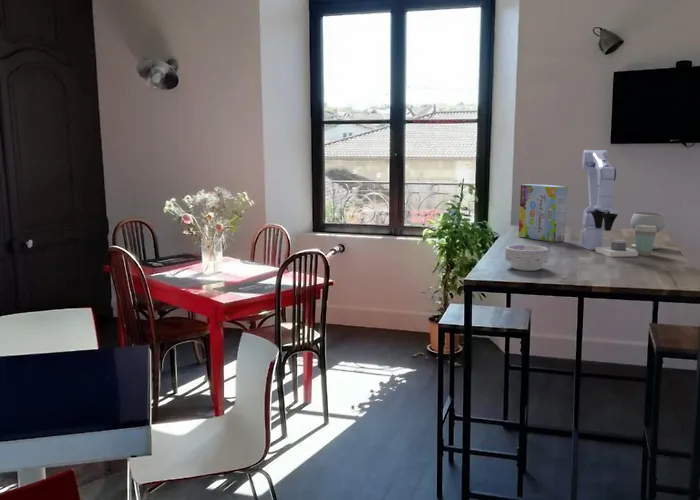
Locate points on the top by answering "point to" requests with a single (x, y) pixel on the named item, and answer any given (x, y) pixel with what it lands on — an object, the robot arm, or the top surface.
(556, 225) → the snack box
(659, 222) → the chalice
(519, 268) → the white round bowl
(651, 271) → the top surface
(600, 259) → the top surface
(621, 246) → the plug
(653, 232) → the coffee cup
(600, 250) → the socket plate
